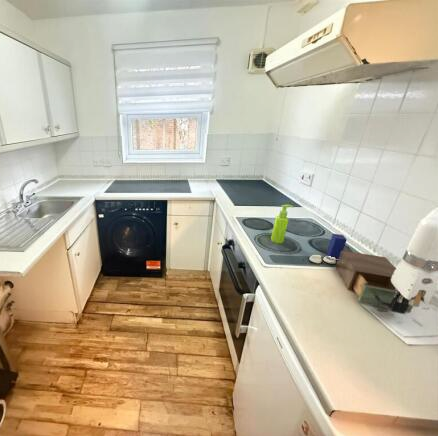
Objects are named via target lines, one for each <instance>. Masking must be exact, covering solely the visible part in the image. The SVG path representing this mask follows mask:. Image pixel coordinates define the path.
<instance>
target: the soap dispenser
mask: <svg viewBox="0 0 438 436" xmlns="http://www.w3.org/2000/svg"><path fill="white" fill-rule="evenodd" d="M281 207H282V209H281V210H279V214H278V215H277V216H275V219H274V224H273V228H272V233H271V238H270V241H271V242H272V243H275V244H283V243H284V241H285V236H286V233H287V229H288V224H289V221H290V219H289V217H287V216H288V211H287V209H288V208H294V206H293V205H292V204H281Z"/></svg>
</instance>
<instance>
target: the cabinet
mask: <svg viewBox="0 0 438 436" xmlns="http://www.w3.org/2000/svg"><path fill="white" fill-rule="evenodd" d="M336 261H337V260H336ZM396 268H397V267H395V265H394V264H393V263H392V262H391V261H390V260H389V259H388V258H387V257H385V256H380V255H374V254H366V253H361V252H356V251H355V252H354V251H347V250H343V251H342V250H341V253H340V256H339V258H338V261H337V262H336V265H335V267H334V269H335V270H336V272H337V273H338V275H339V277H340V279H341V280H342V282H343V284H344V286H345V287H346V289H347V291H348V290H349V291H353V292H355V290H354V289H353V287H352V284H353V282H354V279H355V277H356V275H357V273H361V274H366V275H372V276H377V277H383V278H389V279H391V278H392V275H393V273H394V271H395V269H396Z"/></svg>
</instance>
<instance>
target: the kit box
mask: <svg viewBox="0 0 438 436" xmlns="http://www.w3.org/2000/svg"><path fill="white" fill-rule="evenodd" d="M347 240H348V239H347V238H346V236H345V235H344V234H339V233H332V235H331V237H330V241H329V244H328V247H327V249H326V253H325V255H326V257H327V256H331V257H335V258H336V259H338V258H339V256H340V253H341V250H342V251H344V249H345V245H346V244H347Z"/></svg>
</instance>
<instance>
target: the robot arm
mask: <svg viewBox="0 0 438 436" xmlns="http://www.w3.org/2000/svg"><path fill="white" fill-rule="evenodd" d="M395 268H396V269H395V271H394V273H393V275H392V278H391V282H392V284H393V286H394V287H395V291H394V294H393V297H395V298H393V299H392V301H391V303H390V305H389V308H390V309H389V310H390V311H391V312H394V313H399V314H405V313H406V312H405V311H406V310H407V308H408V306H409V305H411V306H413V308H414V307H415V308H419V306H420V303H421V302H422V303H424V304H429V303H430V301H431V300H432V298H433V296H434V294H435V291H436V289H437V287H438V206H437V207H435V208H434V209H433V210H431V211H430V212H429V213H428V214H427V215H426V216H425V217H423V218H422V219H421V220H420V221H419V222H418V224H417V226H416V229H415V231H414V233H413V235H412V237H411V239H410V241H409V243H408V245H407V248H406V250H405V252H404V254H403V256H402V258H401V260H400V261H399V263H398V264H397V266H396V267H395Z"/></svg>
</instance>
